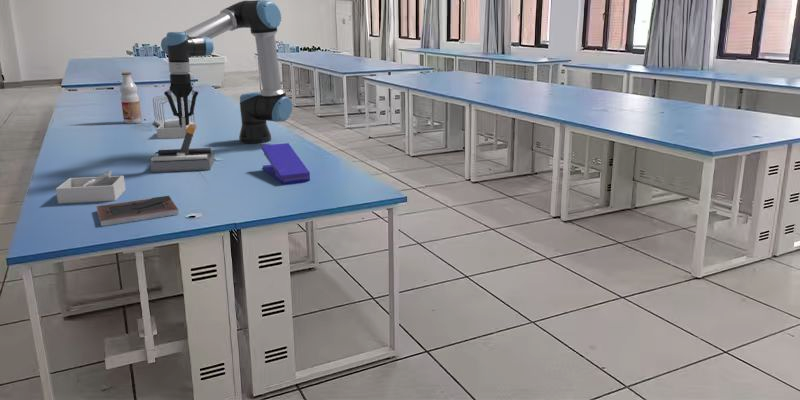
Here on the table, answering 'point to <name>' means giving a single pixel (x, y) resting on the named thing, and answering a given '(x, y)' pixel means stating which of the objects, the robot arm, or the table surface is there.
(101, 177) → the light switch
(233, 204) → the table surface
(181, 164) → the breaker panel
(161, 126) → the mug tray
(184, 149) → the lever
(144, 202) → the picture frame
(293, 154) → the stapler
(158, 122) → the file sorter
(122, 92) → the fruit juice
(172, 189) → the table surface
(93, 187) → the tray
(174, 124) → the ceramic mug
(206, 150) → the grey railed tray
